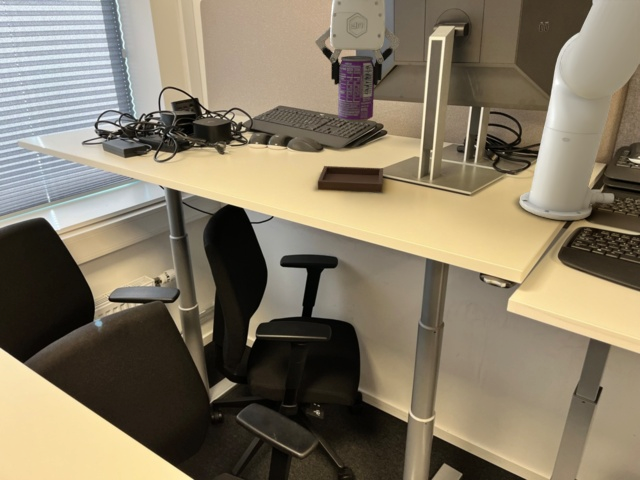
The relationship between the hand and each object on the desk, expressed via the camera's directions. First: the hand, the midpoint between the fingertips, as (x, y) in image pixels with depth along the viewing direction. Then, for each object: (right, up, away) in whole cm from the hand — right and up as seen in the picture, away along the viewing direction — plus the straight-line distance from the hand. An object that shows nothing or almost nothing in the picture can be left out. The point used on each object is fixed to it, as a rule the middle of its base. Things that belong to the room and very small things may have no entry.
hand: (356, 83), depth 93 cm
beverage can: (0, -7, +3) cm, 7 cm away
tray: (0, -19, +10) cm, 21 cm away
